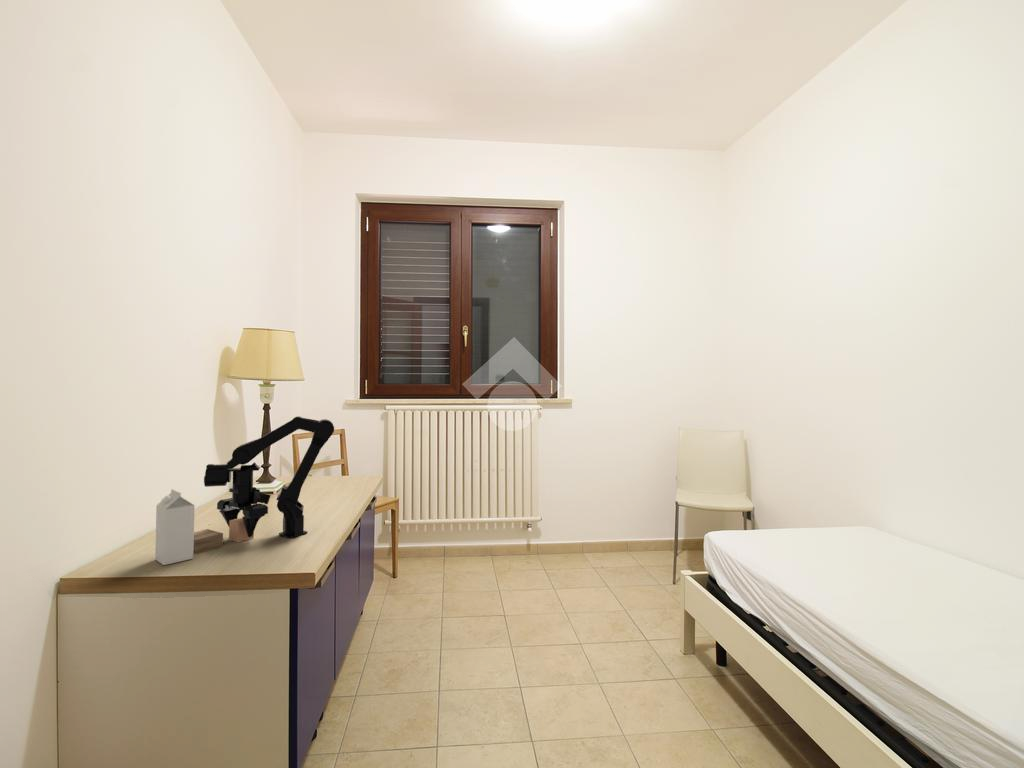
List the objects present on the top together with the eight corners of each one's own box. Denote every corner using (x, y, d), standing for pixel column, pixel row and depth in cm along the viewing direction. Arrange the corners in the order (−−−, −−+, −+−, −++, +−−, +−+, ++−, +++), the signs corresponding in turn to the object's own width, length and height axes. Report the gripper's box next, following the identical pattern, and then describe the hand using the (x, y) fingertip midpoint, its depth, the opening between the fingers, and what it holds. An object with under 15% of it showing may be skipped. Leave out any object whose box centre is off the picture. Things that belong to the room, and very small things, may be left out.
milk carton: (184, 553, 143) (185, 487, 143) (193, 559, 139) (195, 490, 139) (154, 559, 138) (156, 490, 138) (163, 566, 133) (165, 494, 133)
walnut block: (222, 546, 151) (222, 533, 151) (195, 553, 144) (195, 539, 144) (207, 542, 155) (207, 529, 155) (179, 549, 148) (180, 535, 148)
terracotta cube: (253, 538, 158) (254, 519, 158) (238, 542, 154) (238, 522, 154) (244, 535, 161) (244, 517, 161) (229, 539, 157) (229, 520, 157)
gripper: (284, 484, 160) (283, 533, 160) (250, 478, 169) (249, 524, 169) (250, 490, 150) (249, 542, 150) (216, 483, 160) (215, 531, 160)
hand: (241, 534), depth 158 cm, fingers open, 9 cm apart
